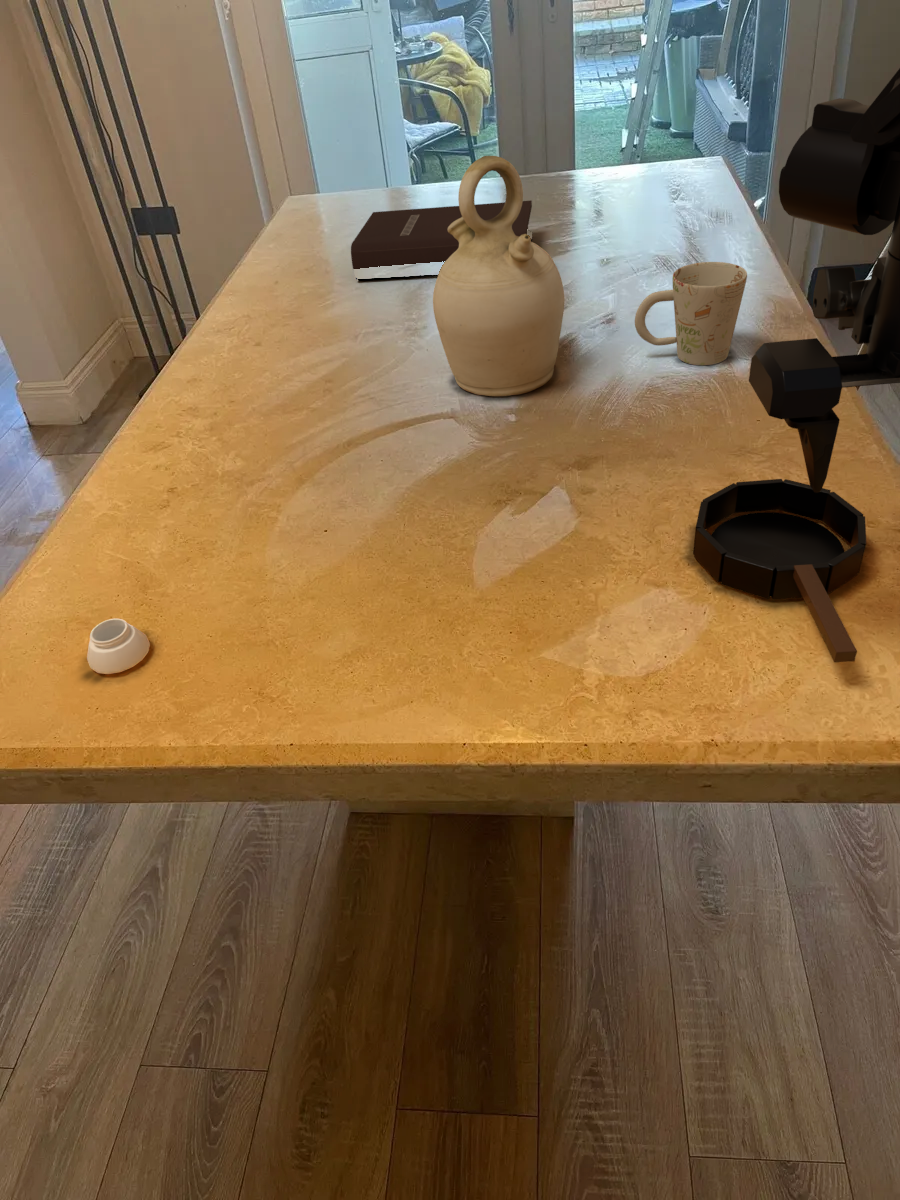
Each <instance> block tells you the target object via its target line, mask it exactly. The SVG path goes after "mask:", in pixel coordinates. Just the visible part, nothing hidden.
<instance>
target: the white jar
mask: <svg viewBox="0 0 900 1200" xmlns="http://www.w3.org/2000/svg"><path fill="white" fill-rule="evenodd" d="M87 646H88V647H87V648H88V649H87V654H86V661H87V663H88V665H89V668H90V669H91V670H93V671H94V672H96V673H97V674H103V675H104V674H105V675H111V674H116V673H121V672H125V671H127V670H129V669H132V668H133V667H135V666H136V665H137V664H139V663H140V662H142V661H143V660H144V658H145V657H146V656H147V655H148V653H149V651H150V646H151V643H150V641H149V639H148V636H147V634H146V633H144V632H143V631H142V630H140V629H139V628H137V627H135V625H132V624H130V623H128V622H127V621H126V620H125V619H122V618H116V617H115V618H109V619H106V620H103V621H101V622H100V623H98V624H97V625H95V626H94V627H93V628H92V630H91V631H90V634H89V642H88V645H87Z"/></svg>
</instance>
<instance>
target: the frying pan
mask: <svg viewBox="0 0 900 1200" xmlns="http://www.w3.org/2000/svg"><path fill="white" fill-rule="evenodd" d="M776 511H781V512H776ZM783 512H785V513H783ZM742 513H744V514H742ZM734 514H741V515H737V516H734V517H732V518H729V517H731V516H732V515H734ZM727 518H729V519H727ZM726 519H727V520H726ZM723 520H725V521H724V522H722V521H723ZM813 520H814V521H813ZM816 521H819V522H822V523H823V524H824V525H826V526H827V527H828V528H830V529H828V528H826V527H825V526H823V525H822V524H820V523H818V522H816ZM720 522H722V523H721V524H719V525H717V527H716V528H715V529H714V530H713V532H712V533H711V534H710V532H709V531H707V529H710V528H711V527H713V526H715V525H716V524H718V523H720ZM866 527H867V526H866V516H864V513H862V512H861V511H860V510H859V509H858V508H856V507H855V506H854V505H852V504H851V503H850V502H848V501H847V500H846V499H845V498H843V497H842V496H841V495H840V494H838V493H837V492H835V491H832V490H831V489H827V488H823V487H822V489H821V492H818V493H814V491H813V490H812V488H811V486H810V484H808V483H803V482H799V481H794V480H792V479H787V478H785V479H784V480H783V478H774V479H773V478H772V479H760V480H749V481H748V480H747V481H746V480H745V481H737V482H736V483H734V482H733V483H731V484H729V485H727V486H725V487H724V488H722V489H720V490H717V491H716V492H714V493H711V495H708V496H707V497H705V498H703V499H702V501H700V504H699V509H698V515H697V519H696V525H695V530H694V541H693V550H692V551H693V552H692V555H693V557H694V559H695V560H696V561H697V562H698V563H699V564H700V565H701V566H702V567H703V569H704V570H706V572H708V573H709V575H710V576H711V577H712V578H713V579H714V580H715V581H716V582H717V583H720V585H722V586H725V587H729V588H732V589H734V590H737V591H741V592H744V593H747V594H750V595H753V596H756V597H759V598H763V599H764V600H765V599H766V600H770V598H771V600H772V601H778V600H791V599H793V600H794V599H795V600H796V599H803V601H804V603H805V606H806V607H807V609H808V611H809V613H810V615H811V618H812V620H813V622H814V624H815V626H816V628H817V630H818V632H819V634H820V636H821V638H822V640H823V643H824V644H825V647H826V649H827V651H828V653H829V655H830V657H831V660H832V661H833V663H850V662H855V661H856V657H857V653H858V650H857V648H856V646H855V644H854V642H853V640H852V638H851V636H850V635H849V633H848V631H847V629H846V627H845V625H844V623H843V621H842V619H841V617H840V615H839V613H838V611H837V609H836V607H835V605H834V604H833V602H832V600H831V598H830V596H829V595H830V594H831V593H833V592H834V591H836V590H837V589H838V588H840V587H842V586H844V585H845V584H847V583H848V582H850V581H851V580H852V579H854V578H856V577H857V576H858V575H859V573H860V570H861V567H862V563H863V558H864V555H865V551H866V546H867V528H866ZM830 530H832V531H833V532H834V533H836V534H837V535H838V536H839V537H840V538H842V539H843V540H844V541H846V542H847V543H848V544H849V545H850V547H849V548H848V549H846V550H845V549H844V546H843V544H842V542H841V541H840V540H839V538H838V537H837V536H836V535H835V534H834V533H833V532H832V531H830Z"/></svg>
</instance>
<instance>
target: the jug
mask: <svg viewBox="0 0 900 1200" xmlns="http://www.w3.org/2000/svg"><path fill="white" fill-rule="evenodd" d="M492 171H493V172H496V173H497V174H498V175H499V176H500V177H501V178H502V180H503V183H504V186H505V205H504V207H503V209H502V211H501V212H500V213H499V214H498V215H497V216H496V217H494V218H493V219H490V220H483V219H482V218H481V217H480V216H479V215H478V213H477V211H476V208H475V205H476V203H475V195H476V191H477V188H478V185H479V183H480V181H481V180H482V179H483V178H484V176H485V175H487V174H488V173H490V172H492ZM522 182H523V181H522V180H521V177H520V174H519V172H518V171H517V169H516V168H515V166H514V165H513V164H512V163H511V162H510V161H508V160H506V159H505V158H504V157H501V156H497V155H483V156H481V157H480V158H478V159H476V160H475V161H473V162H472V163H471V164H470V165H469V166H468V168H467V169H466V170H465V172H464V174H463V176H462V177H461V181H460V183H459V189H458V197H457V198H458V206H459V208H460V212H461V215H462V217H461V218H459V219H457V220H455V221H454V222H453V223H452V224H450V226H449V227H448V232H449V233H450V234H452V235H453V236H454V238H455V239H457V240H458V242H459V248H458V249H457V250H456V251H455V252H454V253H453V254H452V255H451V256H450V257H449V258H448V259H447V260H446V261H445V262H444V264H443V265H442V267H441V269H440V271H439V274H438V275H437V278H436V280H435V284H434V287H433V288H434V289H433V292H432V293H433V294H432V309H433V315H434V320H435V324H436V327H437V331H438V334H439V338H440V342H441V345H442V347H443V350H444V353H445V356H446V359H447V363H448V365H449V368H450V371H451V373H452V375H453V377H454V378H455V382H456V384H457V386H459V387H460V388H461V389H462V390H464V391H465V392H468V393H472V394H475V395H477V396H478V395H480V396H486V397H488V396H489V397H508V396H518V395H523V394H527V393H530V392H533V391H534V390H537V389H539V388H541V387H543V386H544V385H546V384H547V383H548V382H549V381H550V380H551V379H552V377H553V375H554V370H555V368H554V367H555V364H556V361H557V358H558V353H559V347H560V340H561V339H560V338H561V333H562V326H563V319H564V313H565V289H564V284H563V280H562V276H561V274H560V271H559V269H558V267H557V265H556V263H555V262H554V260H553V258H552V257H551V255H550V254H549V253H548V252H547V251H546V250H545V249H544V248H542V247H541V246H539V245H538V244H537V243H535V242H533V241H532V242H531V238H530V236H529V235H527V234H523V235H521V236H520V237H519V236H516V235H515V234H514V232H513V230H512V224H513V222H514V221H515V220H516V218H517V217H518V215H519V213H520V210H521V207H522V202H523V201H524V189H523V183H522Z"/></svg>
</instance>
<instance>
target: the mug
mask: <svg viewBox="0 0 900 1200" xmlns="http://www.w3.org/2000/svg"><path fill="white" fill-rule="evenodd" d="M747 278H748V272H747V270H746V269H745V268H743V267H742V266H740V265H738V264H735V263H730V262H726V261H725V262H723V261H703V262H695V263H690V264H686V265H683V266H681V267H679V268H678V269H676V270H675V271H674V272H673V273H672V289H666V290H659V291H654V292H652V293H651V294H649V295H647V296H646V297H645V298H644V299H643V300H642V301H641V303H640V304H639V305H638V308H637V310H636V312H635V316H634V328H635V330H636V333H637V334H638V336H639V337H640V338H641V339H642V340H644V341H645V342H646V343H648V344H650V345H653V346H657V347H658V346H669V345H674V344H676V353H677V354H676V355H677V358H678V359H679V360H680V361H682V362H683V363H686V364H688V365H693V366H712V365H716V364H719V363H721V362H724V361H725V360H726V359H727V358H728V356H729V353H730V349H731V346H732V341H733V336H734V333H735V328H736V325H737V321H738V316H739V313H740V308H741V304H742V300H743V296H744V292H745V287H746V283H747ZM672 301H673V311H674V312H673V313H674V325H675V336H667V337H655V336H654V335H653V334H652V333H651V332H650V331H649V329H648V328H647V324H646V317H647V315H648V312H649V310H650V309H651V308H652V307H653V306H654V305H655V304H657V303H663V302H672Z"/></svg>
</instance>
